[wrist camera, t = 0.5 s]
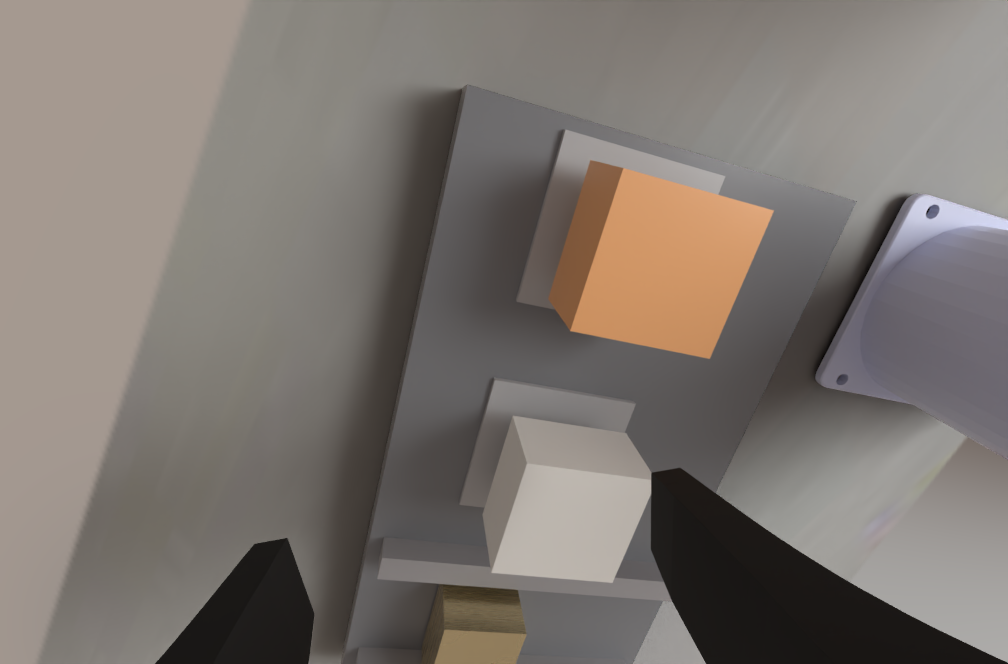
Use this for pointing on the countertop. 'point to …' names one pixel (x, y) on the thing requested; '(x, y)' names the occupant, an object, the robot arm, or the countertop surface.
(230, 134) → the countertop surface
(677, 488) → the robot arm
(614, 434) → the off-white button
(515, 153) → the grey ridged tray
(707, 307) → the orange button
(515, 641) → the wood grain block
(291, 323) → the countertop surface
